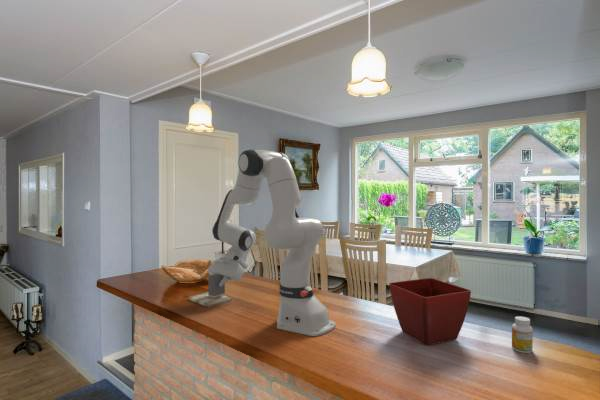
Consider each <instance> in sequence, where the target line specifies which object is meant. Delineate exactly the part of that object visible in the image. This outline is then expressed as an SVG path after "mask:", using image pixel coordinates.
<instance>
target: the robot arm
mask: <svg viewBox="0 0 600 400" xmlns="http://www.w3.org/2000/svg"><path fill="white" fill-rule="evenodd" d="M237 162H238V168H239V171H238V174H237V178H236V182H235V185H234V187H233V189H230V190H229V191H228V192H227V194H226V195H225V198H224V200H223V203H222V204H221V207H220V211H219V213H218V216H217V218H216V221H215V223H214V225H213V227H212V229H211V230H212V231H211V232H212V236H213V238H214V239H215V240H216V241H220V242H221V243H222V242H224V243H226V244H227V245H230V247H229V248H228V249H227V250H226V251H227V252H226V254H225V255H224V256H223V258H219V259H216V258H215V260H214V261H213V262H212V263H211V264H210V265H209V266H208V268H207V272H208V273H209V274H210V276H211V275H215V274H219V275H223V276H224V277H223V279H222V280H221V281H219V282H218V284H217V285H218V286H220V287H222V285H223V284H224V283H225V284H226V283H228V281H229V280H230V281H233V282H237V281H239V280H240V279H241V277H242V276H243V275H244V273H245V270H247V268H248V267H249V265H248V264H247V262H246V261H245V258H246V256H247V255H248V254H249V253H250V252H251V249H252V248H253V246H254V245H255V243H256V239H257V236H256V234H255V232H254V231H253V230H251V229H249V228H246V227H243V226H240V225H238V224H236V223H234V222H231V220H230V217H231V215H232V213H233V209H234V207H235V205H248V204H251V203H254V202H255V201H256V200H258V198H259V196H260V194H261V190H262V184H263V179H264V178H266V179H267V184H268V188H269V192H270V198H271V202H272V213H271V218H270V220H269V222H268V223H267V224H266V225H265V228H264V231H263V238H264V241H265V243H266V245H267V246H268V247H269V248H271V249H276V250H288V249H289V251H288V254H287V255H286V256H285V258H284V259H283V260H282V261H281V263H280V284H279V286H278V290H279V291H278V292H279V295H280V296H279V297H280V300H279V306H278V314H277V318H276V329H278V330H282V331H288V332H292V333H296V334H301V335H303V336H309V337H318V336H321V335H324V334H327V333H329V332H331V331H333V329H334V328H336V322H335V321H333V320H331V319H330V315H329V311H328V308H327V307H326V306H325V305H324V304H323V303H322V302H321V301H320V299H318V298H317V297H316V296H315V293H314V292H315V291H317V290H316V287H312V284H311V264H312V263H311V262H312V258H313V255H314V252H315V249H316V248H317V245H318V244H319V242H321V240H323V239H322V238H323V236H324V230H325V229H324V226H323V224H322V222H321V221H320V220H319V219H318V218H314V217H310V216H309V217H308V216H305V217H296V209H297V207H298V206H299V205H300V203H301V201H302V197H301V191H300V189H299V185H298V181H297V180H298V179H297V177H296V174H295V171H294V168H293V166H292V164H291V162H290V159H289V157H288V155H287V154H286V153H284V152H282V151H274V150H273V151H272V150H267V149H247V150H244V151H242V152H241V153H240V155H239V157H238V161H237Z"/></svg>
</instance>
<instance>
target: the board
mask: <svg viewBox="0 0 600 400" xmlns="http://www.w3.org/2000/svg"><path fill="white" fill-rule="evenodd" d="M208 295H209V294H208V291H206V292H203V293H200V294H195V295H191V296H189V297H187V300H188V301H191V302H193V303H195V304H199V305H202V306H205V307H206V308H207V307H208V308H211V307H214V306H218V305H221V304H225V303H228V302H231V301H232V299H233V298H232V297H230V296H227V295H222V296H218V297H215V298H213V297H210V296H208Z"/></svg>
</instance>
